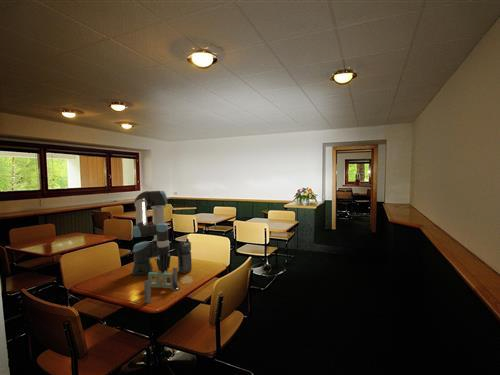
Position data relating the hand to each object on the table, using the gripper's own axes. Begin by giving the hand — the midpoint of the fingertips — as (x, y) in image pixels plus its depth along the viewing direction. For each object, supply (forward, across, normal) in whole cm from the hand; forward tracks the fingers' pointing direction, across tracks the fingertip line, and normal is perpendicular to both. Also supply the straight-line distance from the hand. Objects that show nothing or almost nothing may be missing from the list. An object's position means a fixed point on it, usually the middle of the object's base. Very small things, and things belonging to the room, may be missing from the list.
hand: (164, 279), depth 170 cm
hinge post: (+4, +1, +11) cm, 11 cm away
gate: (+3, +4, +1) cm, 5 cm away
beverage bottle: (+4, -25, -5) cm, 26 cm away
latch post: (+4, +21, +9) cm, 23 cm away
